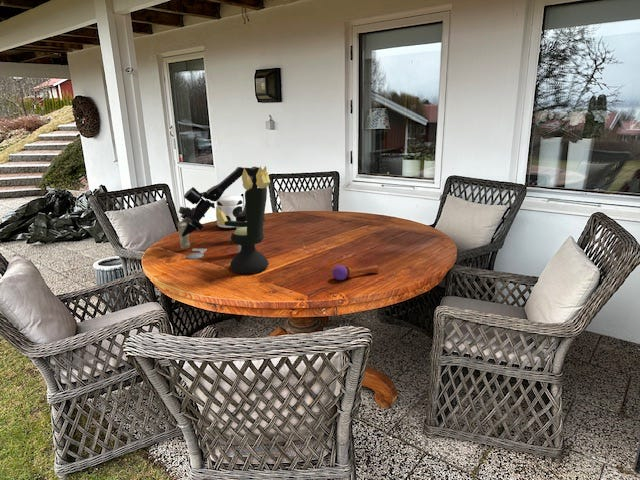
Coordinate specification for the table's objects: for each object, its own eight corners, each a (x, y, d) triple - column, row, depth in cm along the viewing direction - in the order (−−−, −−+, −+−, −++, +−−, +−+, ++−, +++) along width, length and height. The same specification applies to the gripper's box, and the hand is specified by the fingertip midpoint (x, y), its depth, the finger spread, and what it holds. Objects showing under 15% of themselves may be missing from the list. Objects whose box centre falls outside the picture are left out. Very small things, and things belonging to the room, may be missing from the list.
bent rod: (207, 250, 211) (206, 248, 211) (201, 253, 207) (201, 251, 206) (194, 249, 213) (194, 247, 213) (189, 252, 209) (188, 250, 208)
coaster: (207, 254, 205) (206, 253, 205) (197, 259, 198) (197, 258, 198) (192, 253, 207) (192, 252, 207) (183, 258, 200) (183, 257, 200)
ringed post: (192, 246, 213) (189, 221, 209) (186, 249, 208) (183, 223, 205) (184, 245, 214) (180, 220, 211) (178, 248, 210) (174, 223, 206)
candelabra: (252, 258, 198) (245, 161, 185) (287, 267, 184) (282, 163, 172) (220, 269, 184) (210, 165, 171) (254, 280, 171) (246, 168, 158)
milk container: (212, 227, 256) (209, 197, 251) (236, 222, 268) (234, 193, 262) (226, 232, 244) (224, 201, 239) (252, 226, 255) (249, 197, 250)
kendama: (381, 266, 172) (337, 270, 165) (378, 279, 175) (335, 283, 167) (374, 259, 177) (331, 263, 169) (372, 271, 180) (329, 276, 172)
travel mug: (249, 256, 201) (246, 215, 195) (236, 255, 202) (233, 214, 197) (254, 252, 207) (251, 212, 201) (241, 251, 208) (238, 212, 202)
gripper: (182, 197, 214) (162, 222, 212) (193, 203, 199) (172, 229, 197) (199, 210, 221) (180, 234, 218) (211, 217, 206) (191, 242, 203)
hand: (180, 235), depth 209 cm, fingers closed on ringed post, 4 cm apart
